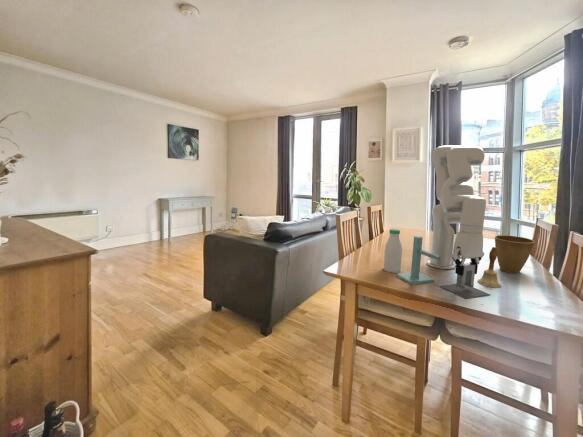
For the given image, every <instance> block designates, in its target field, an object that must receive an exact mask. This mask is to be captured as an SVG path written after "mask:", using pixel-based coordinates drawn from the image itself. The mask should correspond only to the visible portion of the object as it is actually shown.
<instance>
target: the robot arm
mask: <svg viewBox="0 0 583 437" xmlns="http://www.w3.org/2000/svg"><path fill="white" fill-rule="evenodd" d="M484 161H485V151H484V149H483V148H482V147H481V146H479V145H478V146H477V145H470V144H467V145H464V144H463V145H462V144H461V145H452V144H450V145H441V146H440V145H439V146H438V147H436V148H434V150H433V153H432V164H433V167H434V172H435V176H436V178H435V180H436V181H435V184H436V186H435V187H436V189H435V190H436V193H435V195H436V199H437V200H438V201H440V203H439V204H436V205H434V207H433V209H432V220H433V228H432V240H431V252H430V253H432V254H435V255H438V256H440V260H436V259H433V258H430V259H428V260H427V261H426V265H427V266H429V267H432V268H434V269H440V270H453V269H454V270H455V273H454V274H456V275H457V274H458V275H461V276H463V274H464V266H463V264H465V262H466V260H470V262H469V263H471V264H474V265H476V267H475V275H477V273H478V266H479V264H480V262H481V260H482V258H483V257H484V256H485V252H484V251H483V249H484V234H483V232H484V223H485V216H486V214H485V213H486V208H487V200H486V198H484V197H481V196H479V195H475V194H474V188H473V186H472V184H470V183H469V182H468V181H470V180H471V179H472V178H473V170H472V166H473V167H474V166H475V167H477V166H481V165H482V164H483V163H484ZM451 224H459V231H458V232H457V233H456V234H455V230H454V229H453V227H452V226H451ZM455 235H456V236H455Z"/></svg>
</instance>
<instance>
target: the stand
mask: <svg viewBox="0 0 583 437" xmlns="http://www.w3.org/2000/svg"><path fill="white" fill-rule="evenodd" d="M412 242H413V244H412V245H413V246H412V254H411V256H412V257H411V266H410V267H411V269H410V270H411V271H410V272H403V273H400V272H399V273H395V277H397V278H399V279H401V280H402V281H405V282H406V283H408V284H410V285H417V284H426V283H434V282H435V280H436V279H435V278H433V277H430V276H428V275H426V274H425V273H422V272H420V269H421V261H422V260H421V259H422V255H423V256H424V257H428V258H430V259H431V258H433V259H436V260H440V256H438V255H435V254H432V253H431V252H430V251H426V250H423V249H422V248H423V237H422V236H419V235H417V236H413V241H412Z"/></svg>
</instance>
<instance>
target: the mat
mask: <svg viewBox="0 0 583 437" xmlns="http://www.w3.org/2000/svg"><path fill="white" fill-rule="evenodd" d="M439 287H440V288H442V289H444V290H447V291H448V292H450V293H453V294H454V295H456V296H459V297H461V298H463V299H464V300H465V299H466V300H467V299H475V298H481V297H488V296H491V294H490V293H488V292H486V291H484V290H481V289H478V288H477V287H475V286H473V287H469V286H466V285H465V287H464V288H459V287H457V286H456V283H449V284H442V285H439Z"/></svg>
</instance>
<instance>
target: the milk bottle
mask: <svg viewBox="0 0 583 437" xmlns="http://www.w3.org/2000/svg"><path fill="white" fill-rule="evenodd" d="M388 234H389V237H388V239H387V241H386V243H385V247H384V256H383V257H384V258H383V261H384V262H383V270H384V271H385V272H387V273H393V274H394V273H395V274H399V273H400V272H401V269H402V260H403V259H402V256H403V255H402V254H403V246H402V242H401V240H400V235H401V230H400V229H397V228H391V229H389V233H388Z"/></svg>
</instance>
